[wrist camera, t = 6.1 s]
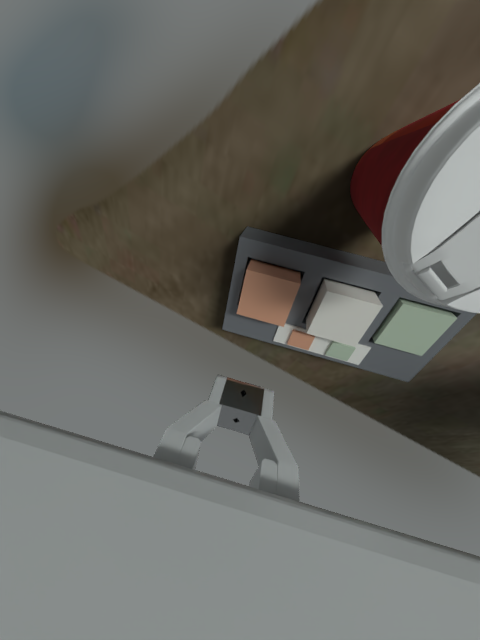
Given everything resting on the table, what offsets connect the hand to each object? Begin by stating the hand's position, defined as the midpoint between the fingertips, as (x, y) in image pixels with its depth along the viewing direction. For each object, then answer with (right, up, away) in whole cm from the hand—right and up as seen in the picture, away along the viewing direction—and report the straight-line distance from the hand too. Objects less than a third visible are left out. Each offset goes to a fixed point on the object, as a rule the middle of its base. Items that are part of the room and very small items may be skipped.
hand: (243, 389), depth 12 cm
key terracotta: (+3, +7, +9) cm, 12 cm away
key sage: (+15, +4, +10) cm, 19 cm away
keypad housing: (+9, +6, +12) cm, 16 cm away
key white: (+9, +5, +9) cm, 14 cm away
